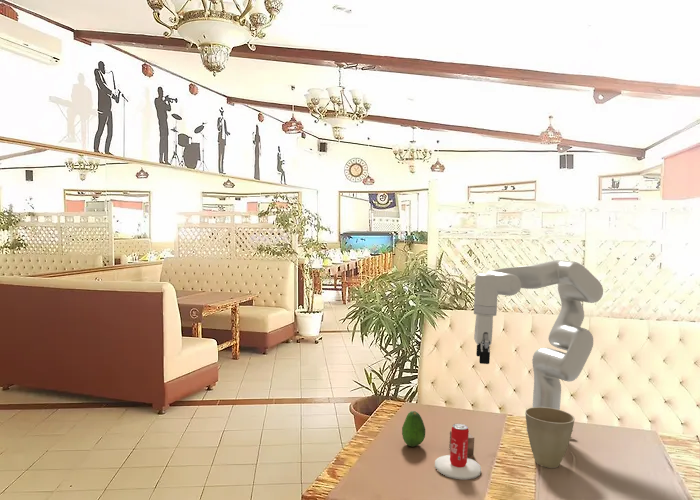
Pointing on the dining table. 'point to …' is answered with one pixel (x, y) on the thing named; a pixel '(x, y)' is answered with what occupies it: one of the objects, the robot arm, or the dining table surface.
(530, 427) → the plant pot
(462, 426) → the beverage can
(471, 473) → the ceramic plate
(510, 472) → the dining table surface
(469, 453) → the walnut block
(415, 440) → the avocado
